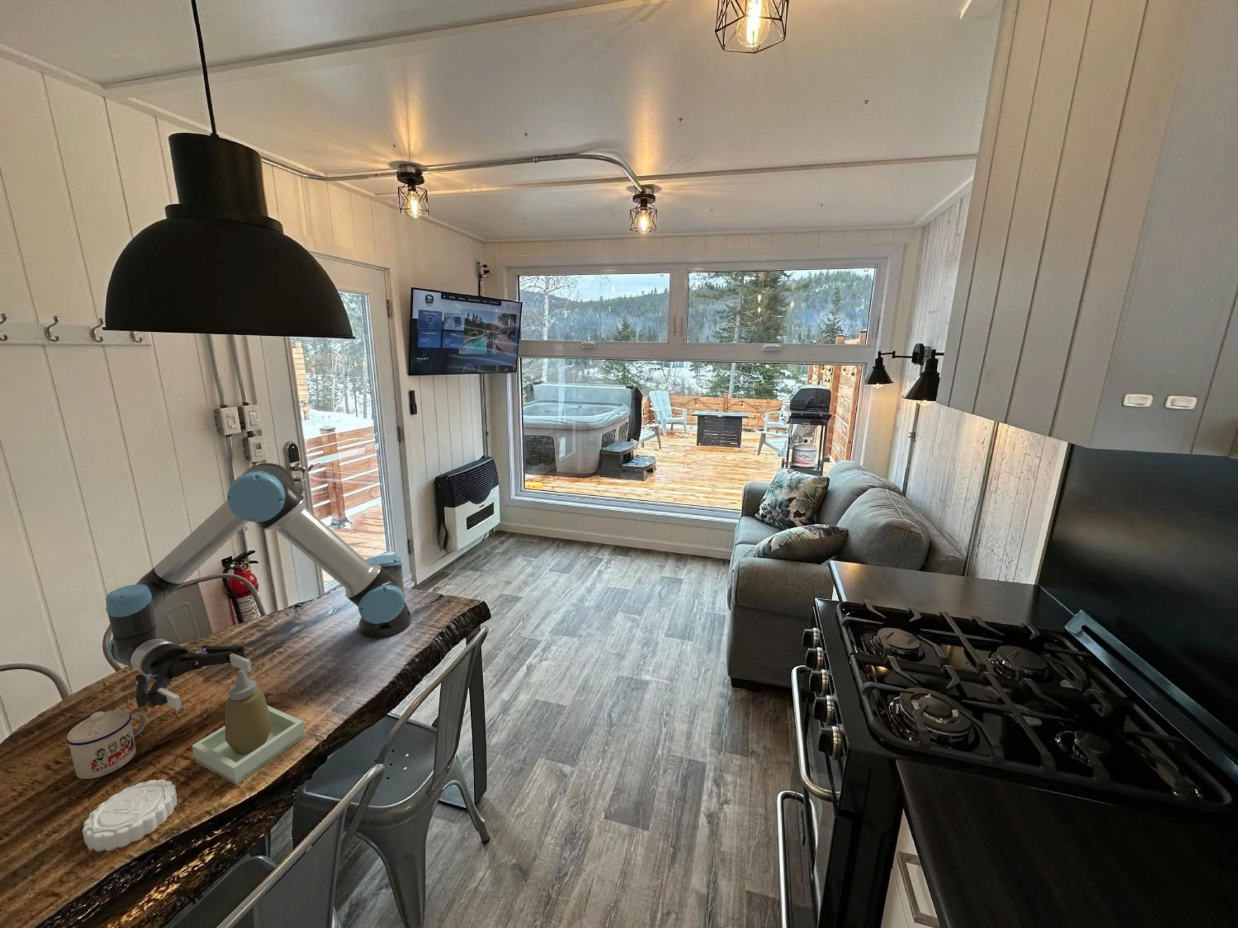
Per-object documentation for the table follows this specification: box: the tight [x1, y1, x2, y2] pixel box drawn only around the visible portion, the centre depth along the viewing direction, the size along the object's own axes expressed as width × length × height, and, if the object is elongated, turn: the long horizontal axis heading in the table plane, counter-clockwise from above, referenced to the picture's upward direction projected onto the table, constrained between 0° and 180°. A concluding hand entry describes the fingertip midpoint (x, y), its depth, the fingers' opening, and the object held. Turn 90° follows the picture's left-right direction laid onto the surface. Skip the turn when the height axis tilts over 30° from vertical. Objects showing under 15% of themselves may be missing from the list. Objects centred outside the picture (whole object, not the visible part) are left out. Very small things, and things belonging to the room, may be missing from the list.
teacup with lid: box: [66, 709, 148, 780], centre depth 100 cm, size 12×9×12 cm
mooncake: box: [82, 779, 178, 852], centre depth 88 cm, size 12×12×4 cm
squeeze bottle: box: [224, 669, 272, 754], centre depth 102 cm, size 8×8×18 cm
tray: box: [191, 704, 306, 786], centre depth 104 cm, size 14×14×4 cm
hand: (216, 683), depth 105 cm, fingers open, 13 cm apart
